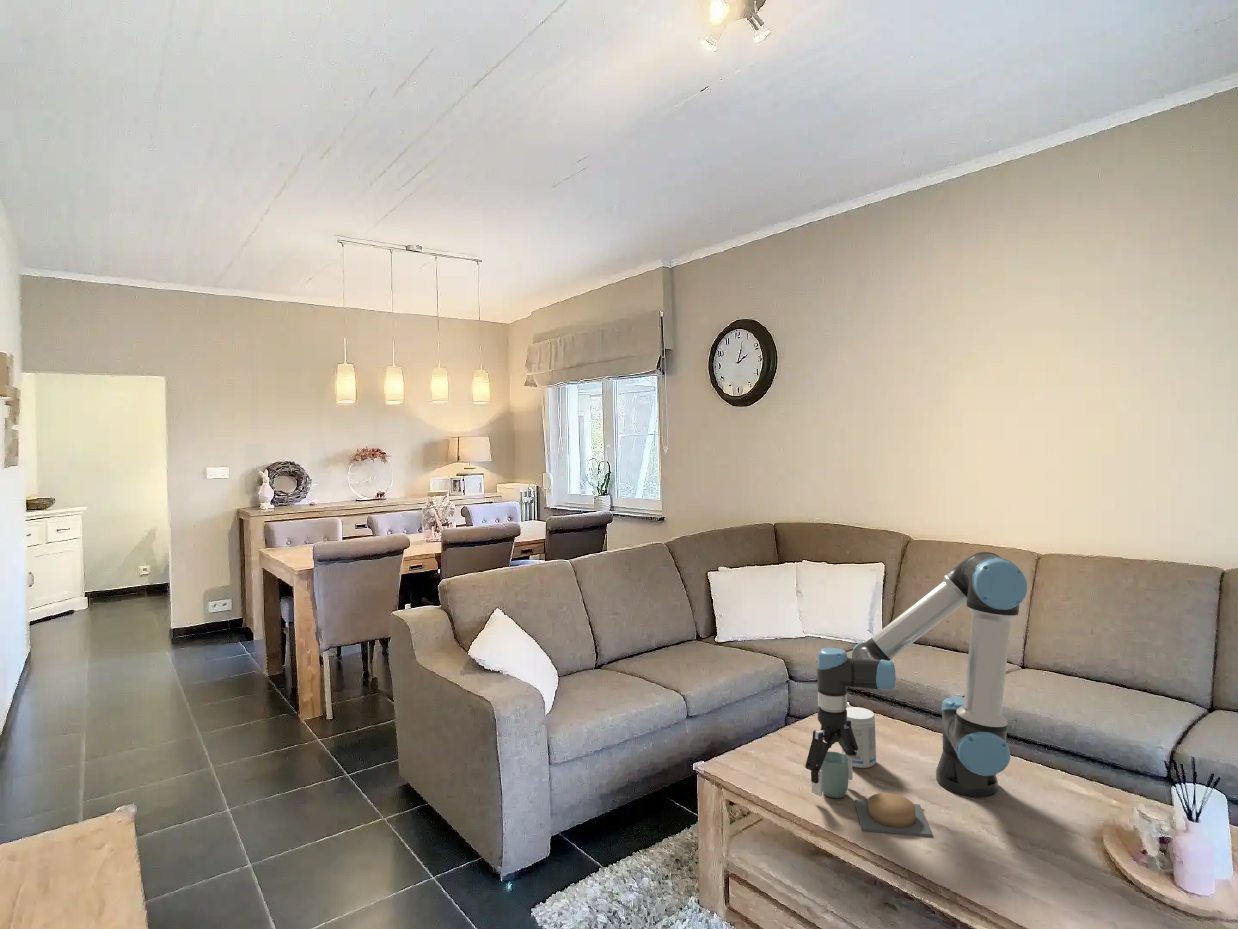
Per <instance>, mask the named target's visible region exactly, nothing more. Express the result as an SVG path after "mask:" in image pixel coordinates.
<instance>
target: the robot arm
mask: <svg viewBox="0 0 1238 929" xmlns="http://www.w3.org/2000/svg"><path fill="white" fill-rule="evenodd" d="M1027 593H1028V582H1027V579H1026V576H1025V574H1024V573H1023V572H1022V570H1021V569H1020V568H1019V567H1018V565H1016V564H1015V563H1014V562H1013V561H1010V560H1008V559H1006V558H1003V557H1002V556H1000V555H999V554H996V553H994V552H988V551H979V552H975V553H973V554H971V555H968V556H967V557H966V558H965V559H963V560H962V561H960V562H959V563H958V564H957V565H956V566H954V567H953V568H952V569H951V570H949V571H948V572H947V573H946V574H945V575H944V576H943V581H942V582H941V583H940V584H938V585H937V586H935V587H934V588H933V589H932V590H931V591H929V592H928V593H927V594H926V595H924V596H923V597H922V598H921V599H919V600H918V601H917V602H916V603H914V604H913V605H911V606H910V607H909V608H908V609H906V610H905V611H904V612H902V613H901V614H900V615H899V616H897V617H896V618H895V619H894V620H892V621H891V622H890V623H889V624H887V625H886V626H885V627H883V628H882V629H881V630H880V631H878V632H877V633H876V634H875V635H873V636H871V638H869V639H867V640H866V641H862V642H858V643H857V644H856V645H855V646H854V647H853V649H852V652H851V657H848V654H847V652H846V650H844V649H841V648H836V647H823V648H821V649H820V650H819V651H818V652H817V665H816V666H817V671H816V672H817V673H816V674H817V706H818V707H817V721H818V722H819V723H820V726H821V727H820V729H819V730H816V729H813V731H812V739H811V743H810V747H809V750H808V755H807V758H806V762H805V766H804V767H805V769H806V770H809V771H810V781H811V793H812V794H815V795H817V796H819V797H822V796H823V792H822V771H821V770H820V768H821V766H822V764H823V761H824V759H825V756H826V754H827V752H829V749H831V748H832V747H833V745H834V744H835V743H838V744H839V746H840V748H841V750H842V749H843V750H844V752H846V753H842V752H841V753H842V754H844V755H845V756H846V757H847V758H848V765H849V781H853V766H852V765H853V755H854V756H856V755H857V752H855V751H857V750H858V746H857V743H856V740H855V737H854V734H853V731H852V728H851V721H849V720H847V710H846V708H848V688H854V689H855V688H856V689H866V690H867V689H868V690H878V691H892V690H894V689H895V688H896V682H897V681H896V680H897V679H896V678H897V677H896V676H897V675H896V667H895V663H894V662H893V661H892V659H894V658H895V657H896V656H897V655H898V654H900V653H902V652H903V651H904V650H906V649H907V648H908V647H909V646H912V644H913V643H915V642H916V641H917V640H919V638H921V637H922V636H924V635H925V634H926V633H928V632H929V631H930V630H931V629H933V628H934V627H935V626H937V625H938V624H939V623H940V622H942V621H944V620H945V619H946V618H948V616H950V615H952V614H953V613H954V612H955V611H956V610H958V609H959V608H960V607H961V606H963V605H964V604H966V608H967V609H968V611H970V612H971V624H970V625H971V626H970V636H969V645H968V657H967V666H966V677H965V687H964V697H962V696H959V697H958V696H951V697H946V698H944V700H943V701H942V704H941V709H940V710H941V713H942V714H941V721H942V722H941V724H942V732H941V733H942V753H941V756H940V758H939V761H938V763H937V766H936V770H935V779H936V782H937V783H938V784H939V785H940V786H941V787H942V788H944V789H946V790H948V791H950V792H953V793H955V794H959V795H963V796H969V797H975V798H976V797H981V798H982V797H989V796H992V795H995V794H996V793H997V792H998V790H999V780H998V777H997V775H998V774H999V773H1001V772H1003V771H1004V770H1005V769H1006V768H1007V767H1008V766H1009V764H1010V761H1011V752H1010V750H1011V749H1010V746H1009V744H1008V743H1007V734H1008V733H1007V731H1008V723H1009V722H1008V720H1007V718H1006V717H1005V716H1004V715H1003V714H1002V713H1003V712H1002V711H1003V703H1004V693H1005V691H1004V690H1005V682H1006V673H1007V663H1008V662H1007V661H1008V654H1009V653H1008V651H1009V642H1010V632H1011V622H1012V620H1014V619H1015V618H1016V617H1018V616H1019V613H1020V611H1019V610H1020V605H1021V603H1022V602H1023V601H1024V599H1025V598H1026V596H1027Z"/></svg>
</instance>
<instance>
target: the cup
mask: <svg viewBox="0 0 1238 929" xmlns="http://www.w3.org/2000/svg"><path fill="white" fill-rule="evenodd" d="M820 770H821V771H822V794H824V795H825V796H826V797H828V798H832V799H840V798H843V797H844V796H845V795H846V794H847V791H848V788H849V781H850V780H849V765H848V758H847V757H846V756H845V755H844V754H842V752H839V751H838V752H837V751H828V752H827V754H826V756H825V759H824V761H823V764H822V766H821V768H820Z"/></svg>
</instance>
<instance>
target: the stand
mask: <svg viewBox="0 0 1238 929" xmlns="http://www.w3.org/2000/svg"><path fill="white" fill-rule="evenodd" d="M854 804H855V808H856V813H857V817H858V821H859V824H860V828H861V829H860V830H861V831H863V832H873V833H884V834H885V833H886V834H897V835H906V836H907V835H909V836H916V837H917V836H920V837H931V838H933V836H934V835H933V832H932V830H931V827H930V826H929V823H928V821H927V818H926V816H925V814H924V811H923V808H922V806H921V804H917V803H914V802H913V801H911V800H910V799H909V798H907V797H905V796H903V795H899V794H894V793H885V792H882V793H875V794H872V795H871V796H869V797H868V799H867V800H866V799H857V798H856V799H854Z"/></svg>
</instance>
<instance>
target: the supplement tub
mask: <svg viewBox="0 0 1238 929" xmlns="http://www.w3.org/2000/svg"><path fill="white" fill-rule="evenodd" d="M846 710H847V720H849V721H851V728H852V731H853V734H854V737H855V740H856V743H857V746H858V750H857V751H855V752H857V755H856V756H854V755H853V765H852V768H857V769H858V768H859V769H868V768H871V767H874V765H876V763H877V745H876V744H877V743H876V719H875V713H874V712H873V711H872V710H870V709H867V708H864V707H859V706H857V707H856V706H853V707H852V706H849V707H847V708H846ZM841 753H846V752H844V750H843V749H842V748H841Z"/></svg>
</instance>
